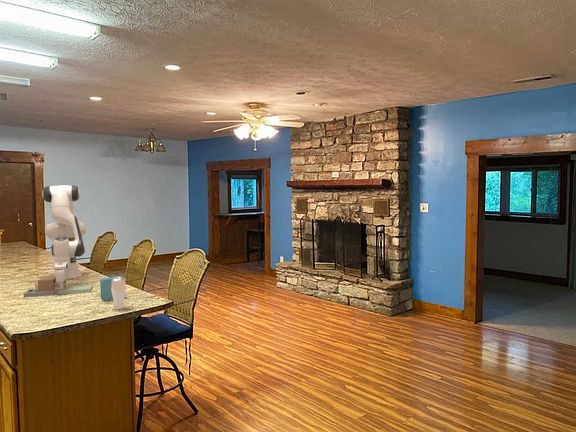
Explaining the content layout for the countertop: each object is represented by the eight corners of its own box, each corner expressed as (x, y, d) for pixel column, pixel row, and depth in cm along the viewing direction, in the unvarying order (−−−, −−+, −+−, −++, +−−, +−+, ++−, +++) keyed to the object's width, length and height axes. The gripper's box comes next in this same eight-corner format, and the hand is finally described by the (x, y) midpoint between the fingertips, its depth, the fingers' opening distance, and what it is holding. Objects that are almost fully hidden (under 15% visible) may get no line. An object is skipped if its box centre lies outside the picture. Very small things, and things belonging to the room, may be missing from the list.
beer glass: (128, 306, 234) (127, 277, 234) (123, 309, 227) (122, 280, 227) (114, 306, 234) (113, 277, 233) (109, 309, 227) (108, 280, 226)
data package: (122, 296, 256) (122, 275, 255) (125, 298, 252) (124, 277, 252) (100, 299, 249) (100, 278, 248) (103, 301, 245) (102, 279, 244)
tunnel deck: (29, 292, 269) (28, 277, 268) (92, 287, 280) (91, 274, 279) (23, 297, 256) (23, 282, 256) (90, 292, 267) (89, 277, 267)
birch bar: (36, 289, 266) (36, 283, 266) (66, 287, 271) (66, 281, 271) (35, 291, 262) (34, 284, 262) (65, 289, 267) (65, 282, 267)
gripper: (59, 262, 277) (60, 284, 277) (53, 267, 257) (54, 291, 258) (70, 261, 279) (71, 283, 279) (65, 266, 259) (66, 290, 260)
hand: (63, 287), depth 269 cm, fingers open, 8 cm apart
